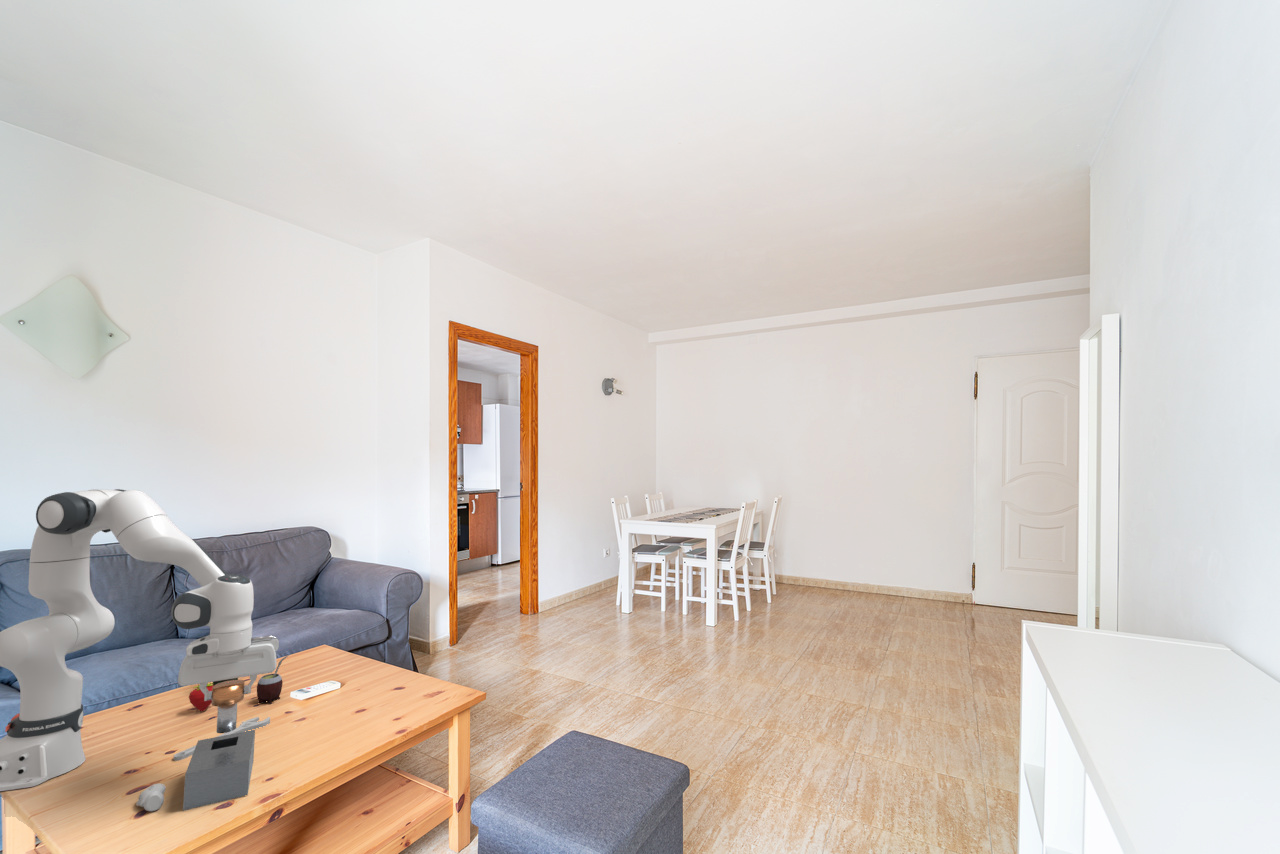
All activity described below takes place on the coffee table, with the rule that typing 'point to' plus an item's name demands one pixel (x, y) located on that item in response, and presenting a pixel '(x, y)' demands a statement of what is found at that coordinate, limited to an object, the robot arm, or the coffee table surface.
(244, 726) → the adjustable wrench
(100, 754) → the coffee table surface
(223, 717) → the pin
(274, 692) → the mate gourd
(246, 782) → the block
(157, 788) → the mannequin head
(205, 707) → the strawberry
